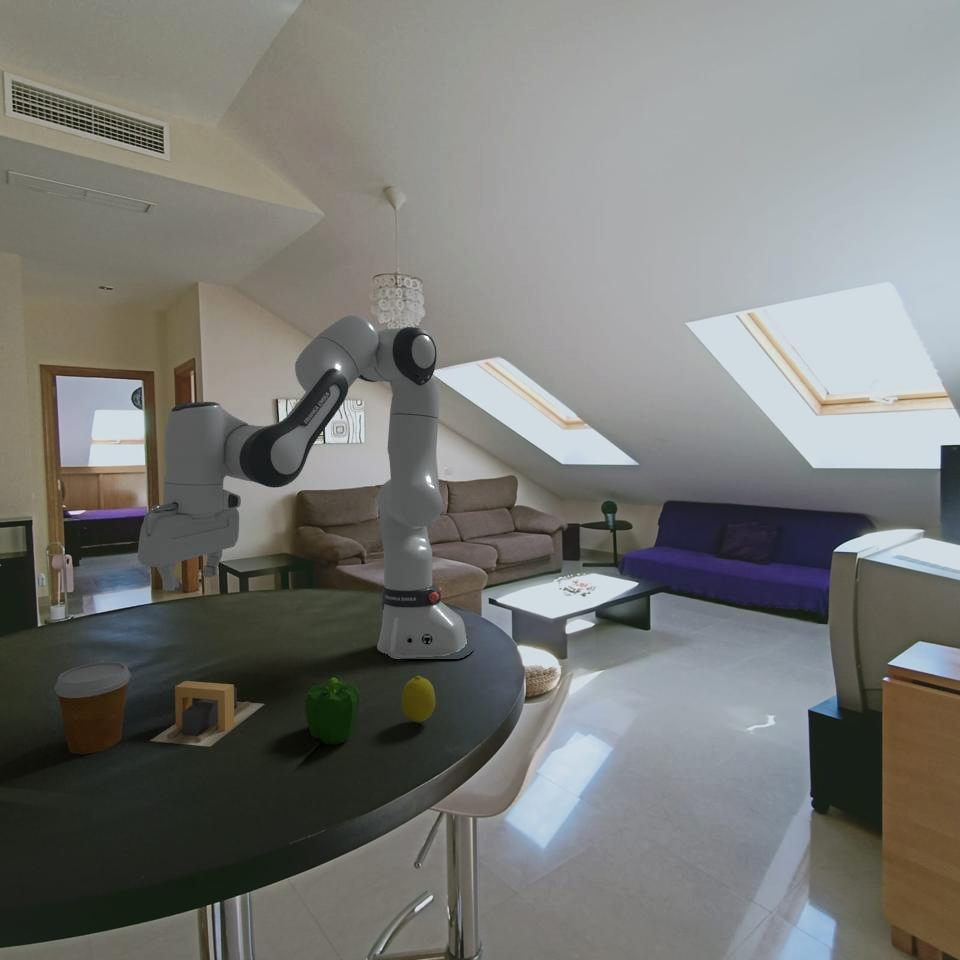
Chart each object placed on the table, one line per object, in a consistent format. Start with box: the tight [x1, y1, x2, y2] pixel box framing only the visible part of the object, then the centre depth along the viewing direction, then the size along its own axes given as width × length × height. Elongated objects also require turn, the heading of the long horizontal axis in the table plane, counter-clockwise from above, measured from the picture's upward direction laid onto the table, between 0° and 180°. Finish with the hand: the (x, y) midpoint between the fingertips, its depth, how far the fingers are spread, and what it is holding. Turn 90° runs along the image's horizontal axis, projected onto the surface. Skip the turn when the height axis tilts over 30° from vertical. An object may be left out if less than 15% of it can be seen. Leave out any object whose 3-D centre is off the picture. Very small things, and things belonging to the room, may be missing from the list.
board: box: [149, 701, 265, 748], centre depth 94 cm, size 10×15×2 cm, turn 170°
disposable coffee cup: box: [53, 661, 132, 755], centre depth 87 cm, size 10×10×12 cm
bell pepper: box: [304, 677, 360, 746], centre depth 91 cm, size 8×8×10 cm
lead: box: [182, 686, 238, 736], centre depth 94 cm, size 3×10×4 cm, turn 170°
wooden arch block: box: [174, 680, 235, 731], centre depth 93 cm, size 9×2×6 cm, turn 80°
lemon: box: [400, 675, 436, 723], centre depth 96 cm, size 6×6×8 cm
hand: (191, 582), depth 97 cm, fingers open, 8 cm apart
